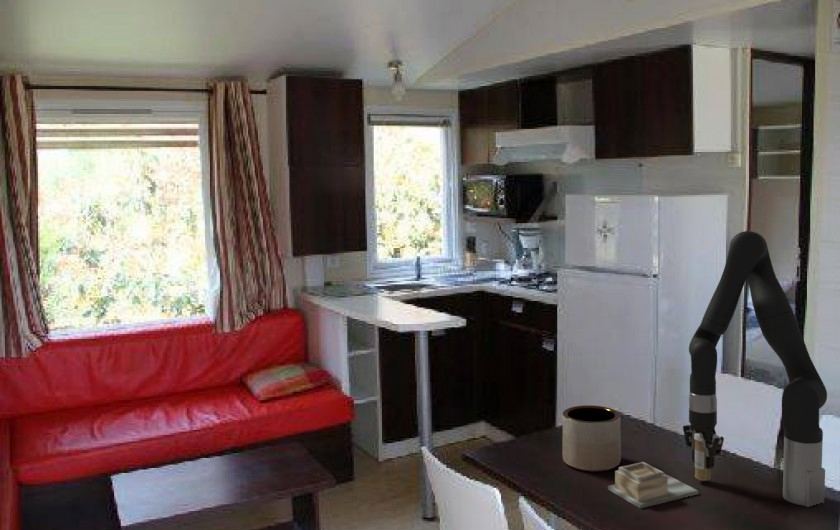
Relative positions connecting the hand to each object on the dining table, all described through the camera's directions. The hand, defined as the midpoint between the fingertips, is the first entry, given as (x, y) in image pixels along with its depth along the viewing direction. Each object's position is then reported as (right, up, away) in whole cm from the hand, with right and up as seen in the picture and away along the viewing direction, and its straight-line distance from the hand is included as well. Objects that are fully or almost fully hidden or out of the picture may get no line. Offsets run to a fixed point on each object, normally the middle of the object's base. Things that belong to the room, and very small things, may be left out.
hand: (702, 465), depth 217 cm
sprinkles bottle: (0, -4, 0) cm, 4 cm away
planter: (-28, -4, +19) cm, 34 cm away
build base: (-16, -6, -4) cm, 18 cm away
